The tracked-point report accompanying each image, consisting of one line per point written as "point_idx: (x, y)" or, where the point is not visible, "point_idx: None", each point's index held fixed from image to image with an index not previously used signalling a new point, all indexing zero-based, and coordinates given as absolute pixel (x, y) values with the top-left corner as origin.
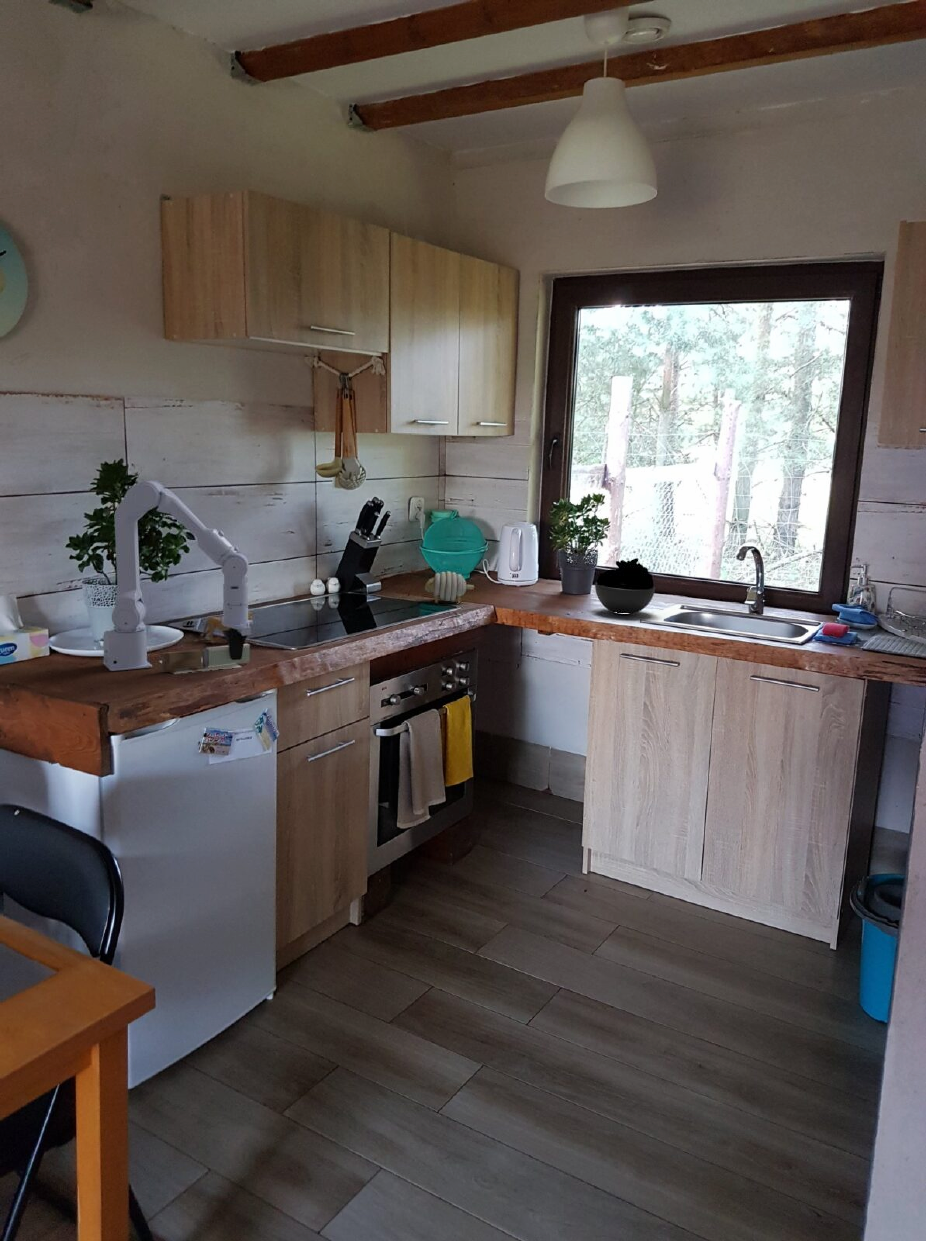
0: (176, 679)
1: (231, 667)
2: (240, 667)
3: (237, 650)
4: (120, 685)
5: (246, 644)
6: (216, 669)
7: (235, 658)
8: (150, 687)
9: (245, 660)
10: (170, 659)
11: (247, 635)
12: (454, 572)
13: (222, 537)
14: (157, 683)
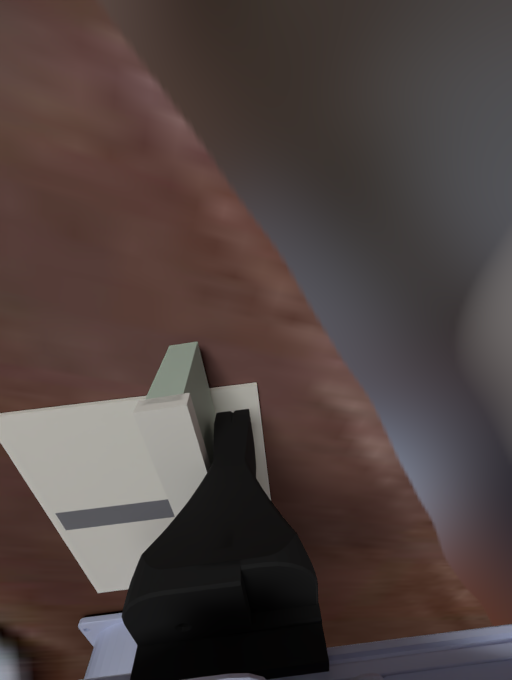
0: (340, 565)
1: (256, 424)
2: (256, 387)
3: (251, 466)
4: (340, 639)
5: (162, 422)
6: (267, 473)
7: (253, 439)
8: (390, 604)
9: (201, 368)
10: None
11: (293, 530)
12: None
13: None
14: (360, 595)
